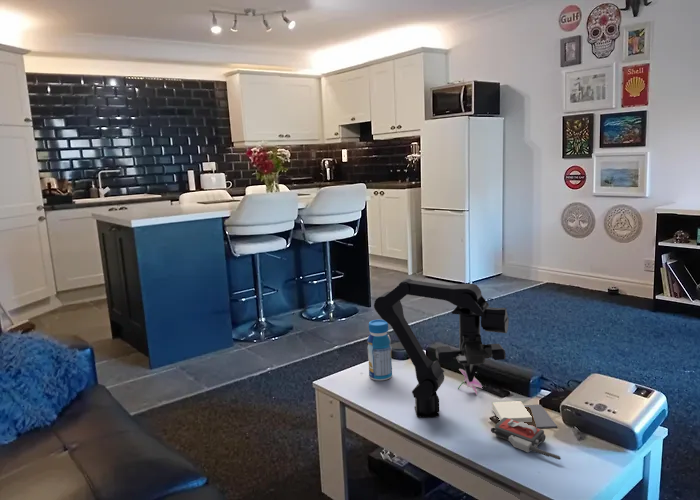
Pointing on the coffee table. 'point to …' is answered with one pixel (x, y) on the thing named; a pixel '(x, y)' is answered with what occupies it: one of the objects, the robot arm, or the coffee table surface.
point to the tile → (511, 411)
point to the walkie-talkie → (521, 435)
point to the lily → (472, 384)
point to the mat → (541, 417)
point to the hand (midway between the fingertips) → (470, 381)
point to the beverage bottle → (379, 351)
